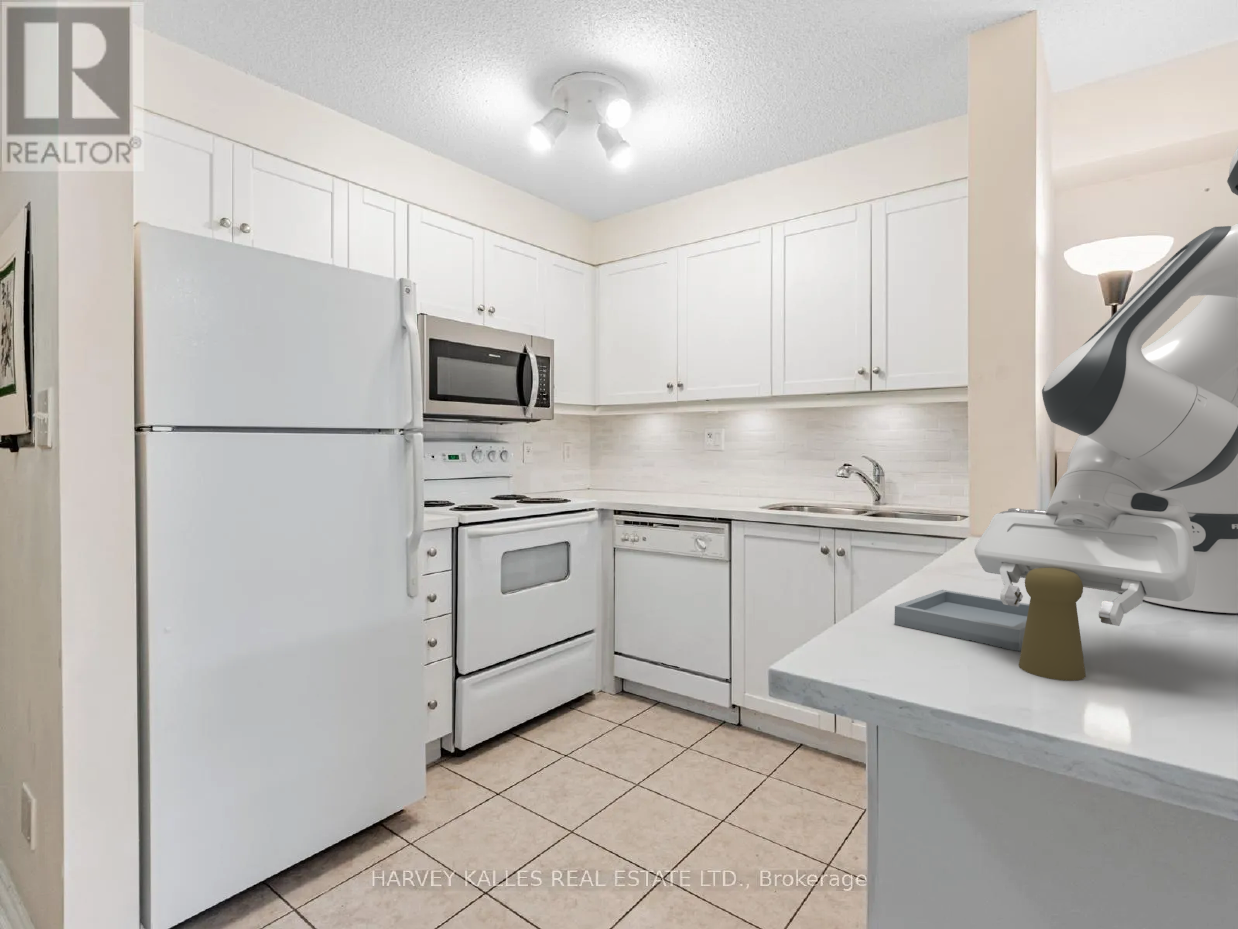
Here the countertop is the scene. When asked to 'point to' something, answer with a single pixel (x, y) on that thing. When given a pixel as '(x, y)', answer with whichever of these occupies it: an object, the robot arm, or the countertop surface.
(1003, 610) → the slate grey tray
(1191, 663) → the countertop surface
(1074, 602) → the cork
